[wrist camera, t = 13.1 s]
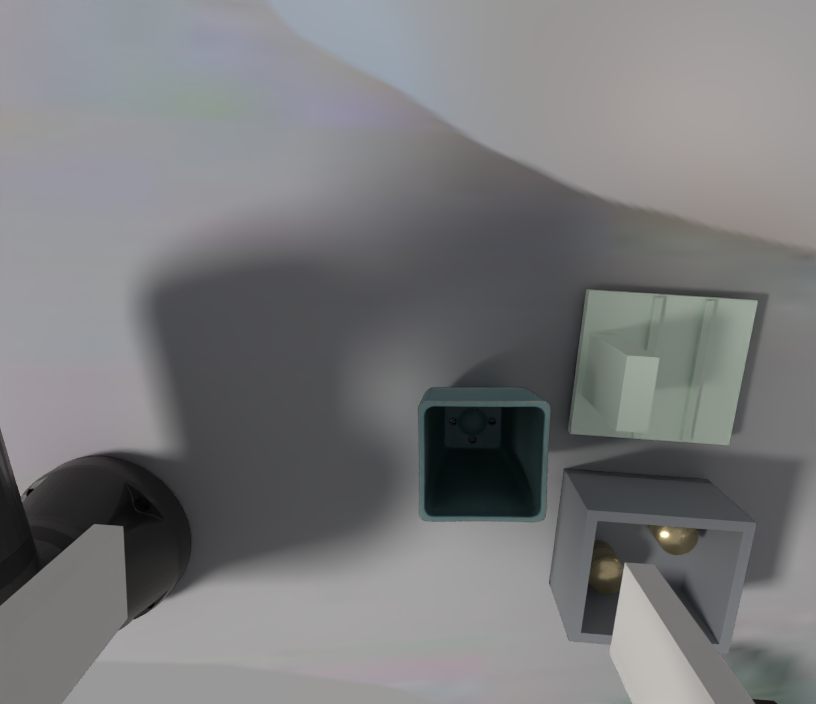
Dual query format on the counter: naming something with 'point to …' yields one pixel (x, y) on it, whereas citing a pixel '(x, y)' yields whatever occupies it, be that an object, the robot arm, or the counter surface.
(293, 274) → the counter surface
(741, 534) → the tub
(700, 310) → the lid
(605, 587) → the part
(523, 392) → the flower pot
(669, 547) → the part
